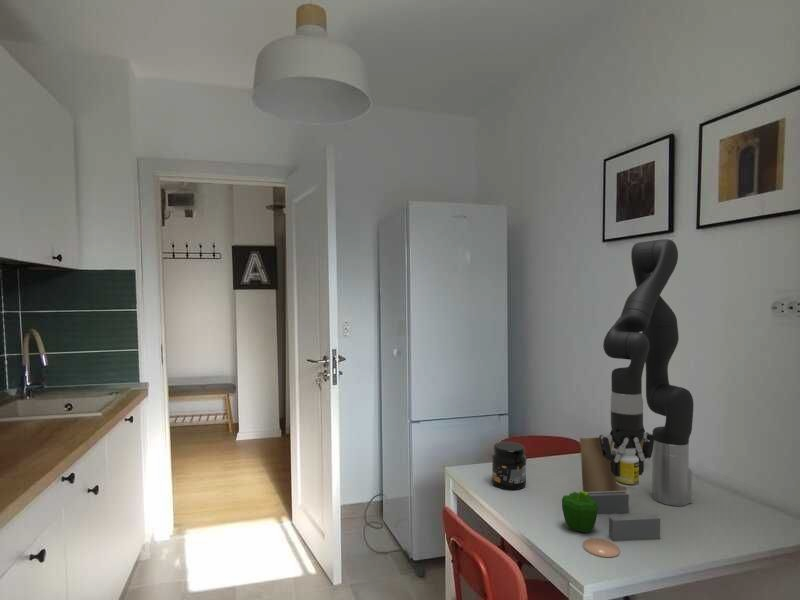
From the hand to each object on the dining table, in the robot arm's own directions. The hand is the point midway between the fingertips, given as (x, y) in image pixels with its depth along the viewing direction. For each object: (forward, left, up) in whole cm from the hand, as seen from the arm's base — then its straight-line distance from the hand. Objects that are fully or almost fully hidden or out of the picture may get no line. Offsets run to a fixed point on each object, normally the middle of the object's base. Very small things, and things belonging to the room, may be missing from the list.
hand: (627, 474), depth 125 cm
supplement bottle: (0, 0, -3) cm, 3 cm away
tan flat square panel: (+1, -9, -1) cm, 9 cm away
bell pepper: (+13, 0, -14) cm, 19 cm away
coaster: (+12, +10, -13) cm, 20 cm away
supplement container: (+22, -29, -14) cm, 39 cm away
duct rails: (+1, -1, -13) cm, 14 cm away
